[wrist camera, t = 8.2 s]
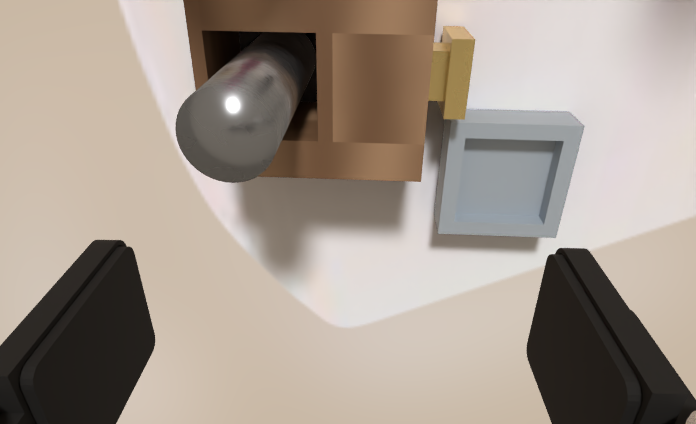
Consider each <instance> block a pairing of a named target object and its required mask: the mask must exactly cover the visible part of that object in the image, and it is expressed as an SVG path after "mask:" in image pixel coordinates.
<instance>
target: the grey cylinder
mask: <svg viewBox="0 0 696 424" xmlns="http://www.w3.org/2000/svg"><path fill="white" fill-rule="evenodd" d="M315 65H316V54H315V50H314V47H313V45H312V43H311V41H310V40H309V38H308V37H307V36H306V35H305V34H304V33H300V32H263V33H262V34H260V35H259V36H258V37H257V38H256V39H255V40H254V41H252V42H251V43H250V44H249V45H248V46H247V47H246V48H244V49H243V50H242V51H241V52H240V53H239V54H238V55H236V56H235V57H234V58H233V59H232V60H231V61H229V62H228V63H227V64H226V65H225V66H224V67H223V68H221V69H220V70H219V71H218V72H217V73H216V74H215V75H213V76H212V77H211V78H210V79H209V80H208V81H207V82H205V83H204V84H203V85H202V86H201V87H200V88H198V89H197V90H196V91H195V92H194V93H193V94H192V95H190V96H189V97H188V98H187V99H186V100H185V102H184V103H183V104H182V106H181V108H180V110H179V112H178V115H177V119H176V136H177V141H178V144H179V146H180V149H181V150H182V152H183V154H184V156H185V157H186V159H187V160H188V161H189V162H190V163H191V164H192V165H193V166H194V167H195V168H196V169H197V170H199V171H200V172H201V173H203V174H205V175H206V176H208V177H210V178H213V179H216V180H219V181H223V182H231V183H235V182H244V181H248V180H251V179H253V178H255V177H257V176H259V175H260V174H261V173H263V172H264V171H265V170H266V169H267V168H268V167H269V165H270V164H271V162H272V160H273V158H274V156H275V154H276V152H277V150H278V148H279V145H280V143H281V141H282V139H283V137H284V135H285V132H286V130H287V128H288V126H289V124H290V122H291V119H292V117H293V115H294V113H295V111H296V109H297V106H298V104H299V102H300V100H301V98H302V96H303V93H304V91H305V89H306V87H307V85H308V83H309V80H310V78H311V76H312V74H313V72H314V69H315Z"/></svg>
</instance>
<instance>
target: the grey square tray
mask: <svg viewBox="0 0 696 424" xmlns="http://www.w3.org/2000/svg"><path fill="white" fill-rule="evenodd" d="M583 130H584V125H583V124H582V123H581V122H580V121H579V120H578V119H577V118H576V117H574V116H573V115H572V114H571V113H570V112H559V111H522V110H484V109H466V113H465V120H459V119H445V120H444V129H443V138H442V147H441V156H440V166H439V175H438V184H437V193H436V202H435V211H434V216H435V221H436V226H437V231H438V234H462V235H490V236H518V237H545V238H556V235H557V231H558V228H559V224H560V220H561V216H562V212H563V208H564V204H565V200H566V196H567V192H568V188H569V185H570V181H571V177H572V173H573V169H574V165H575V161H576V157H577V153H578V149H579V145H580V141H581V138H582V134H583Z"/></svg>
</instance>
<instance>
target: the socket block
mask: <svg viewBox="0 0 696 424" xmlns="http://www.w3.org/2000/svg"><path fill="white" fill-rule="evenodd" d="M183 1H184V8H185V15H186V23H187V30H188V37H189V44H190V51H191V58H192V66H193V73H194V80H195V87H196V90H197V89H198V88H200V87H201V86H202V85H203V84H204V83H205V82H207V81H208V80H209V79H210V78H211V77H212V76H213V75H215V74H216V73H217V72H218V71H219V70H220V69H221V68H223V67H224V66H225V65H226V64H227V63H228V62H229V61H231V60H232V59H233V58H234V57H235V56H236V55H238V54H239V53H240V41H239V31H252V32H300V33H316V61H317V102H299V104H298V106H297V109H296V111H295V113H294V115H293V117H292V119H291V122H290V124H289V126H288V128H287V130H286V132H285V135H284V137H283V139H282V141H281V143H280V145H279V148H278V150H277V152H276V154H275V156H274V158H273V160H272V162H271V164H270V165H269V167H268V168H267V169H266V170H265V171H264V172H263V173H261V174H260V175H259V176H260V177H291V178H322V179H353V180H384V181H415V182H421V174H422V164H423V153H424V142H425V131H426V120H427V109H428V99H429V88H430V77H431V66H432V55H433V44H434V33H435V23H436V12H437V1H438V0H183Z"/></svg>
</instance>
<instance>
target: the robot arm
mask: <svg viewBox="0 0 696 424" xmlns="http://www.w3.org/2000/svg"><path fill="white" fill-rule="evenodd" d="M154 346H155V335H154V330H153V326H152V322H151V318H150V314H149V310H148V306H147V302H146V298H145V294H144V290H143V286H142V282H141V278H140V274H139V270H138V266H137V262H136V258H135V254H134V251H133V249H132V248H131V247H127V246H126V244H125V243H124V242H123V241H121V240H95V241H93V242H92V243H91V244H90V245H89V246H88V248H87V249H86V250H85V251H84V252H83V253H82V254H81V255H80V257H79V258H78V259H77V260H76V261H75V262H74V263H73V264H72V266H71V267H70V268H69V269H68V270H67V271H66V272H65V273H64V275H63V276H62V277H61V278H60V279H59V280H58V281H57V283H56V284H55V285H54V286H53V287H52V288H51V289H50V290H49V292H48V293H47V294H46V295H45V296H44V297H43V298H42V300H41V301H40V302H39V303H38V304H37V305H36V306H35V307H34V308H33V310H32V311H31V312H30V313H29V314H28V315H27V316H26V318H25V319H24V320H23V321H22V322H21V323H20V324H19V325H18V326H17V328H16V329H15V330H14V331H13V332H12V333H11V334H10V335H9V337H8V338H7V339H6V340H5V341H4V342H3V343H2V345H1V346H0V424H116V422H117V421H118V419H119V417H120V415H121V413H122V411H123V409H124V407H125V405H126V403H127V401H128V399H129V397H130V395H131V393H132V391H133V389H134V387H135V385H136V383H137V381H138V379H139V378H140V376H141V373H142V372H143V370H144V368H145V366H146V364H147V362H148V360H149V358H150V356H151V354H152V352H153V349H154ZM527 357H528V361H529V364H530V366H531V369H532V372H533V374H534V377H535V380H536V382H537V385H538V388H539V390H540V393H541V396H542V398H543V401H544V404H545V406H546V409H547V412H548V414H549V417H550V420H551V422H552V424H696V400H695V398H694V397H693V395H692V394H691V392H690V391H689V390H688V388H687V387H686V385H685V384H684V382H683V381H682V380H681V378H680V377H679V376H678V374H677V373H676V371H675V370H674V368H673V367H672V366H671V364H670V363H669V361H668V360H667V358H666V357H665V355H664V354H663V353H662V351H661V350H660V348H659V347H658V345H657V344H656V343H655V341H654V340H653V338H652V337H651V335H650V334H649V333H648V331H647V330H646V329H645V327H644V326H643V324H642V323H641V321H640V320H639V318H638V317H637V316H636V315H635V313H634V312H633V311H631V310H630V309H629V308H628V306H627V305H626V303H625V302H624V300H623V299H622V298H621V296H620V295H619V293H618V292H617V290H616V289H615V288H614V286H613V285H612V283H611V282H610V280H609V279H608V277H607V276H606V275H605V273H604V272H603V270H602V269H601V268H600V266H599V265H598V263H597V262H596V260H595V259H594V257H593V256H592V254H591V253H590V252H589V251H588V250H587V249H581V248H559V249H558V250H557V251H556V253H555V254H551V255H549V256H548V258H547V261H546V265H545V270H544V274H543V278H542V283H541V287H540V291H539V295H538V300H537V304H536V308H535V313H534V317H533V321H532V325H531V330H530V334H529V338H528V343H527Z"/></svg>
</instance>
